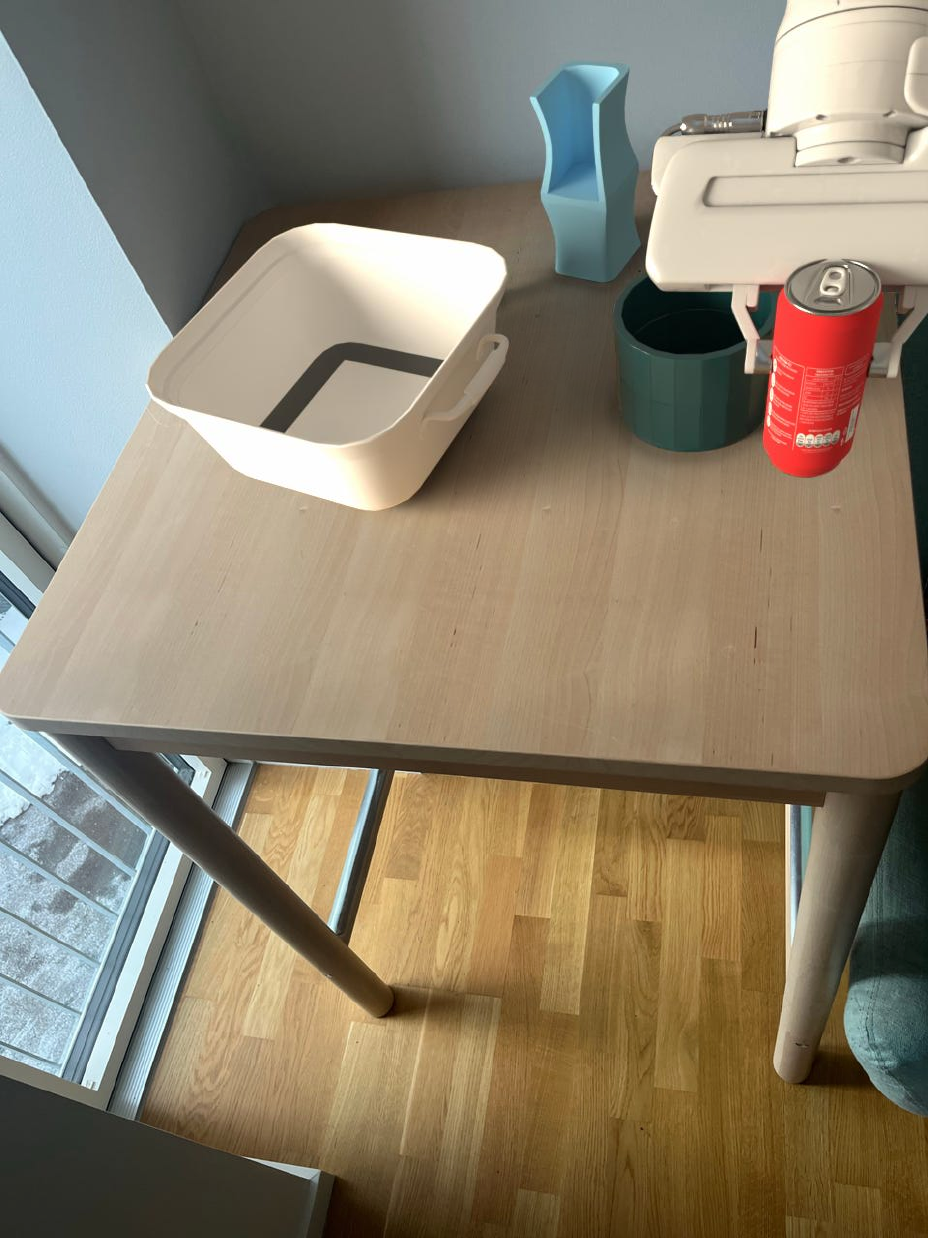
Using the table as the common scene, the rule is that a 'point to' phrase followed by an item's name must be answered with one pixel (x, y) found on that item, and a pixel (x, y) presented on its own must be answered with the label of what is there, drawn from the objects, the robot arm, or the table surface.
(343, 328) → the white storage bin
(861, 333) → the beverage can
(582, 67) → the vase
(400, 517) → the table surface
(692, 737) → the table surface
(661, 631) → the table surface
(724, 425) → the enamel pot
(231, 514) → the table surface
